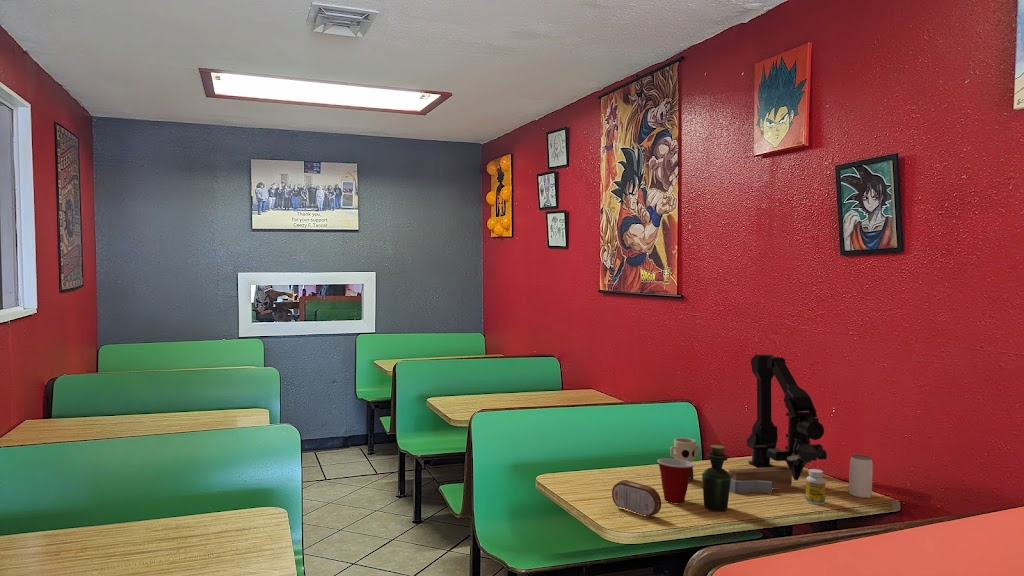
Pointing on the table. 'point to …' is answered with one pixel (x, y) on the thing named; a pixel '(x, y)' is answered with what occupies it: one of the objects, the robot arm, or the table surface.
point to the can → (860, 476)
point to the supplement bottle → (815, 487)
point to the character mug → (685, 450)
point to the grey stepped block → (750, 486)
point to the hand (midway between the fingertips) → (795, 479)
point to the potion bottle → (716, 481)
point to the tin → (636, 497)
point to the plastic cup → (675, 478)
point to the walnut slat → (765, 475)
